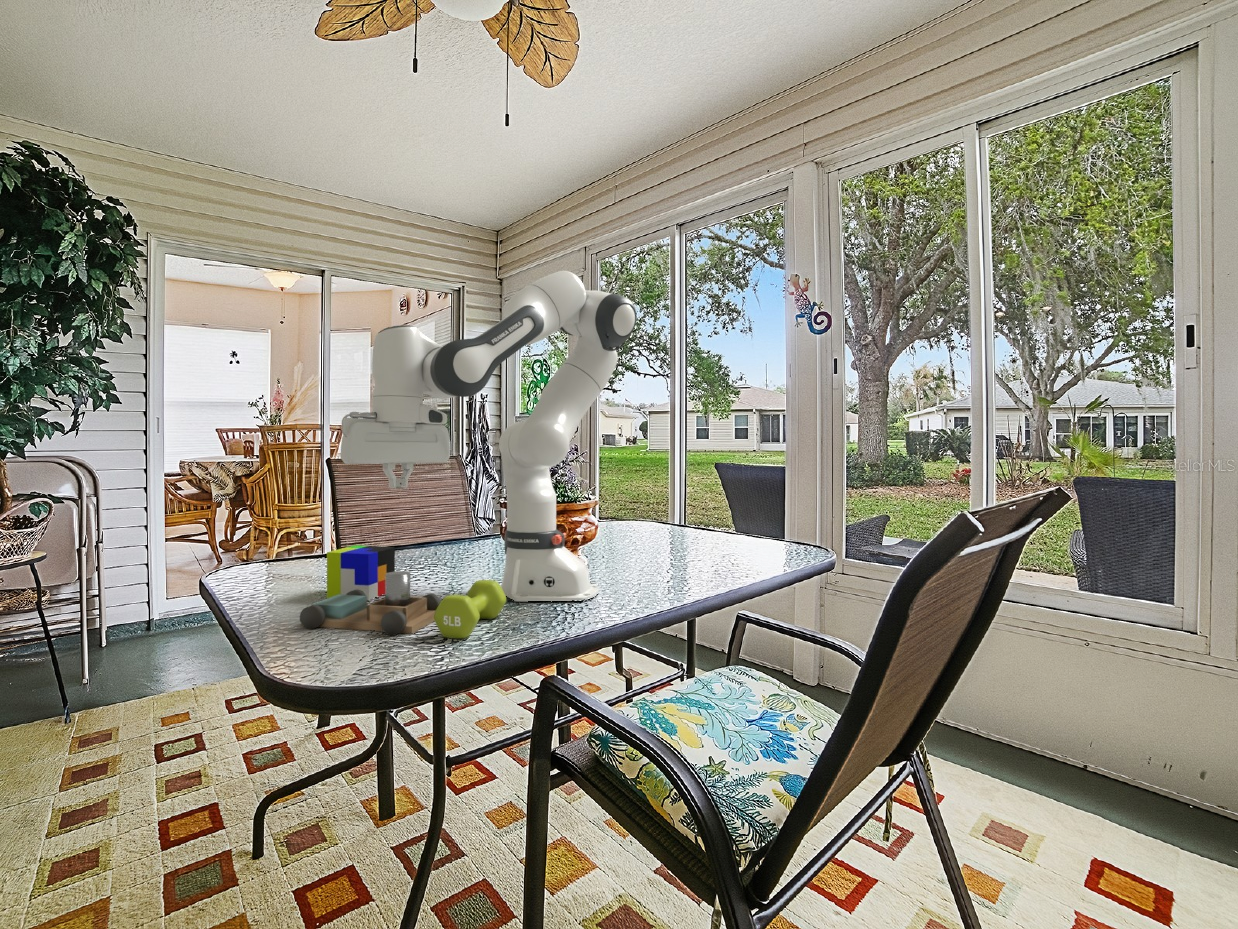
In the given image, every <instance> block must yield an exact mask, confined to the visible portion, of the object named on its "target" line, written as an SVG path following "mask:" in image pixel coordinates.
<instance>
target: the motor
mask: <svg viewBox="0 0 1238 929" xmlns="http://www.w3.org/2000/svg"><path fill="white" fill-rule="evenodd" d="M410 597H411V572H410V571H406V570H405V571H403V570H398V571H397V570H395V572H389V573H386V574H385V594H384V598H385V606H401V607H405V606H407V605H409V604H410Z"/></svg>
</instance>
